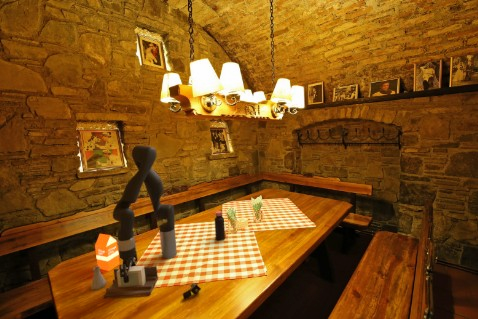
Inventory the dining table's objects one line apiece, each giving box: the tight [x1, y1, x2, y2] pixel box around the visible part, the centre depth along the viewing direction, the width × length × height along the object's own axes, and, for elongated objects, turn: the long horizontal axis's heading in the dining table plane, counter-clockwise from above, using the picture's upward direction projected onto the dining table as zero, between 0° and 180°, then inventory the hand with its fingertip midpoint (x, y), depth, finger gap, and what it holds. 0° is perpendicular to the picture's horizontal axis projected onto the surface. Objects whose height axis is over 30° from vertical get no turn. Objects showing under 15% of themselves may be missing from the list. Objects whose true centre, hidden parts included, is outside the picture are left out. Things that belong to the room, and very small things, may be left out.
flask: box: [90, 265, 107, 291], centre depth 119 cm, size 7×7×10 cm
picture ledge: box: [103, 265, 159, 299], centre depth 116 cm, size 12×22×8 cm, turn 92°
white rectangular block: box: [117, 265, 146, 287], centre depth 115 cm, size 12×4×9 cm, turn 92°
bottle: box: [214, 210, 226, 241], centre depth 164 cm, size 7×7×20 cm
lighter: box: [182, 282, 202, 300], centre depth 108 cm, size 8×2×5 cm
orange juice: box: [94, 233, 121, 272], centre depth 136 cm, size 8×9×20 cm
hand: (130, 276), depth 115 cm, fingers open, 8 cm apart
